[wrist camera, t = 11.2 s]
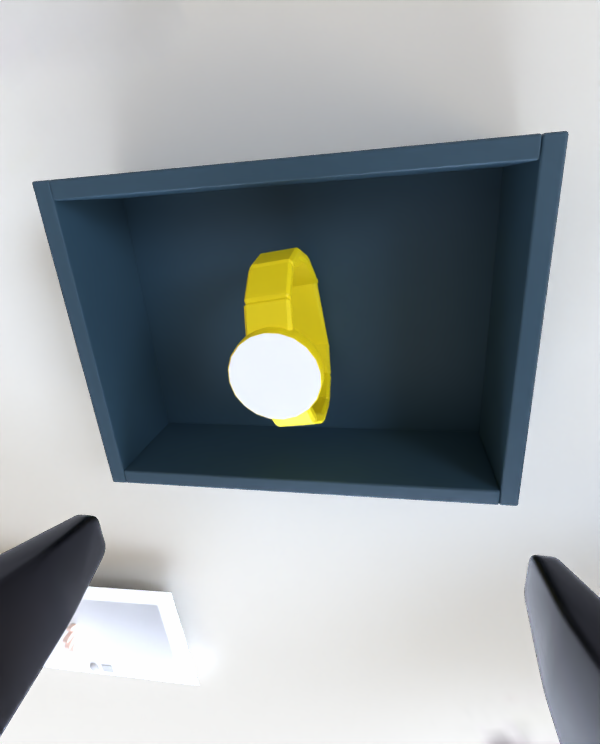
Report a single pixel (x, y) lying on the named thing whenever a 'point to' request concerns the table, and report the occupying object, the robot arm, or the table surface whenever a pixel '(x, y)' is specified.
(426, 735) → the table surface
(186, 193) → the organiser tray
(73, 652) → the touchpad
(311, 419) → the watch
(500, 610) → the table surface
